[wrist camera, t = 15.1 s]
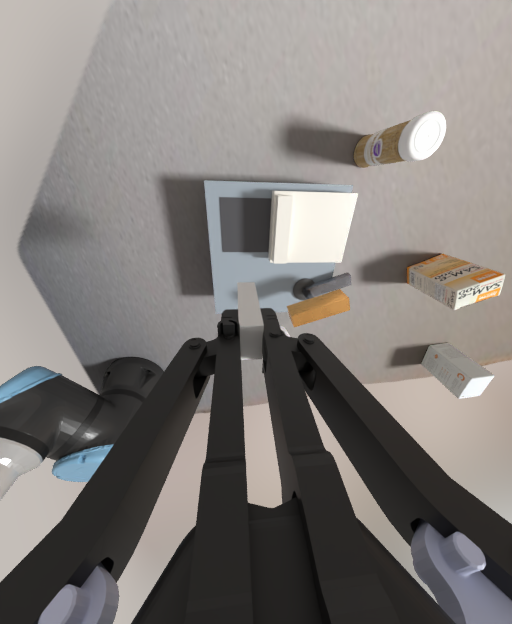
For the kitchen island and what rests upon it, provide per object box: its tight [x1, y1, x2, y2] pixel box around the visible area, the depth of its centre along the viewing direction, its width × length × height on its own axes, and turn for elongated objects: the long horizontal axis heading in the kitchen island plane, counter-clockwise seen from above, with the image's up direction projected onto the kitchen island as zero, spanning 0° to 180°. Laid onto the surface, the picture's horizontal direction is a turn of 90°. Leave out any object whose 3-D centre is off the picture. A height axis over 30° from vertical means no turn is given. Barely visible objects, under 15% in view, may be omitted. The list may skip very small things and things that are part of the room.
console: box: [204, 180, 353, 314], centre depth 39 cm, size 22×22×8 cm
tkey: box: [287, 273, 351, 327], centre depth 35 cm, size 2×12×8 cm, turn 108°
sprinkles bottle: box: [354, 111, 446, 168], centre depth 30 cm, size 5×5×13 cm
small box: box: [421, 343, 494, 398], centre depth 59 cm, size 8×6×13 cm
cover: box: [268, 191, 358, 264], centre depth 31 cm, size 12×10×4 cm
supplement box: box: [407, 254, 505, 310], centre depth 43 cm, size 8×5×13 cm, turn 112°
